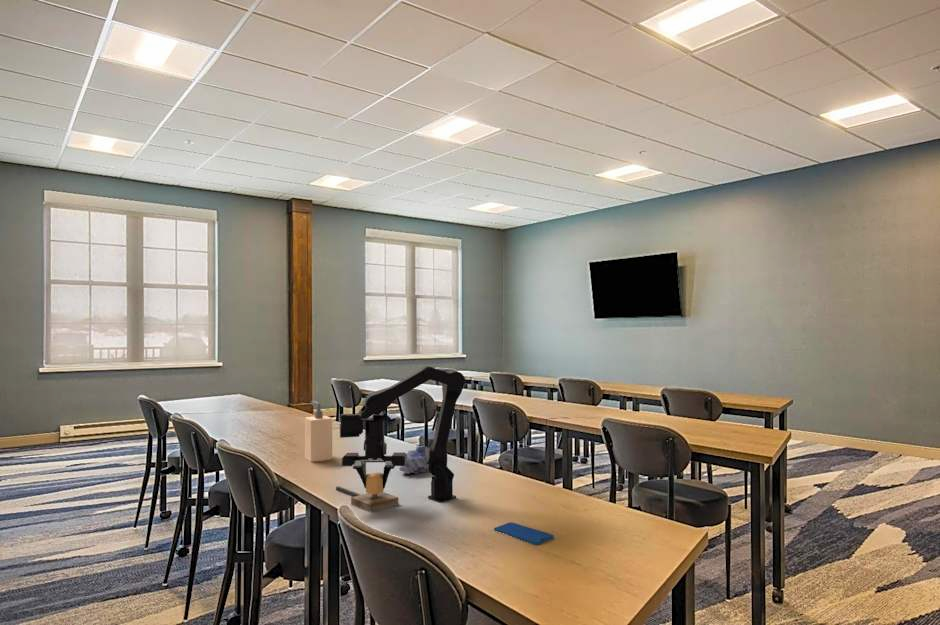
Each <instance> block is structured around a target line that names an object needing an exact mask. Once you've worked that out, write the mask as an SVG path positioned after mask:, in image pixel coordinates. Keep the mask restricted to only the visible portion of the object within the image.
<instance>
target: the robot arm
mask: <svg viewBox="0 0 940 625" xmlns="http://www.w3.org/2000/svg"><path fill="white" fill-rule="evenodd" d="M428 381H434V382H437V383H440V384H442V385H441V387H442V388H441V389H442V399H441V400H442V401H441V405H440V411H439V414H438V418H437V424H436V429H435V433H434V438H433V442H432V444H431V445H430V447H428V446H426V450H425V456H424V458H423V460H424V461H425V466H426V468H427V469H428V471H427V472H429V473H430V475H432V476H431V481H430V483H431V484H430V488H431V489H430V491H431V492H430V494H431V495H428V496H427V498H428V499H430V500H433V501H437V502H439V503H443V502H446V501H450V500H453V499H457V495H453V493H454V492H453V491H454V490H453V488H454V487H453V481H454V480H453V479H454V478H455V473H454V472H453V471H452V470H451V469H450V468H449V467H448V449H447V448H448V447H447V445H448V442H449V441H448V440H449V437H450V433H451V427H452V422H453V419H454V418H453V417H454V413H455V410H456V404H457V401H458V400H459V398H460V396H461V394H462V391H463V389H464V386H465V385H466V378H465V376H464V375H463V373H462V372H460V371H457V370H454V369H453V370H452V369H450V370H447V371H445V370H441V369H438V368H434V367H432V366H429V365H425V366H423V367H422V368H421V369H419V370H417V371H415V372H413V373H412V374H410V375H409V376H407V377H405V378H404V379H402V380H399V381H398V382H397V383H394V384H393V385H391V386H389V387H386V388H383V389H378V390H376V391H373V392H370V393H369V394H367V395H366V396H365V397H364V401H363V402H364V404H363V406H362V407H361V408H360V410H359V411H358V413H355V414H353V413H352V414H346V413H342V414H340V423H339V438H341V439H343V438H344V439H345V438H357V437H358V438H359V437H360V435H362V434H363V433H364V441H363V451H364V455H360V454H359V452H347V453H345V454H344V455H343V456H342V458H341V467H352V469H353V470H356V472H357V474H358V475H359V477H360V479H361V480H360V481H361V482H362V485H363V487H364V489H366V475H367V463H384V464H385V465H384V467H383V488H384V489H385V488H386V484H387V482H388V477H389V475H390V472H391V470H392V469H395V467H398V466H399V467H400V466H405V464H406V462H407V452H393V453H392V455H387V448H388V447H387V446H388V444H387V443H386V442H385V422H386V421H392V420H391V417H390V416H389V415H388V413H387V412H386V411H385V410H386V409H388V407H390V406H391V405H392V403H394V402H395V401H396V400H397V399H399V398H400V397H402V396H403V395H405V394H408V393H409V392H411V391H412V390H414V389H415V388H418V387H419V386H421V385H423V384H424V383H426V382H428ZM382 412H383V413H382ZM381 413H382V414H381Z"/></svg>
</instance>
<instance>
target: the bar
mask: <svg viewBox="0 0 940 625" xmlns="http://www.w3.org/2000/svg"><path fill="white" fill-rule="evenodd" d="M335 490H336V491H338V492H340V493H343V494H345V495H347V496H350V497H355V496H359V495H362V494H360V493H359V492H358V493H357V492H354V491H352V490H350V489H347V488H345V487H342V486H339V485H338V486H336V487H335Z"/></svg>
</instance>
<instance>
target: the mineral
mask: <svg viewBox="0 0 940 625" xmlns="http://www.w3.org/2000/svg"><path fill="white" fill-rule="evenodd" d="M426 447H427V446H426V445H418V446H416V447H415V448H416V449H415V450H414V449H413V450H411V449H410V450H408V451H407V452H406V454H407V462H406V464H405V466H399V468H398V470H399V471H401V472H403V473H405V474H407V475H410V474H414V473H415V475H417V473H418V474H419V473H426V471H427V472H429V471H428V469H427V468H426V466H425V461H424V460H423V458H424V456H425V450H426Z"/></svg>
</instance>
